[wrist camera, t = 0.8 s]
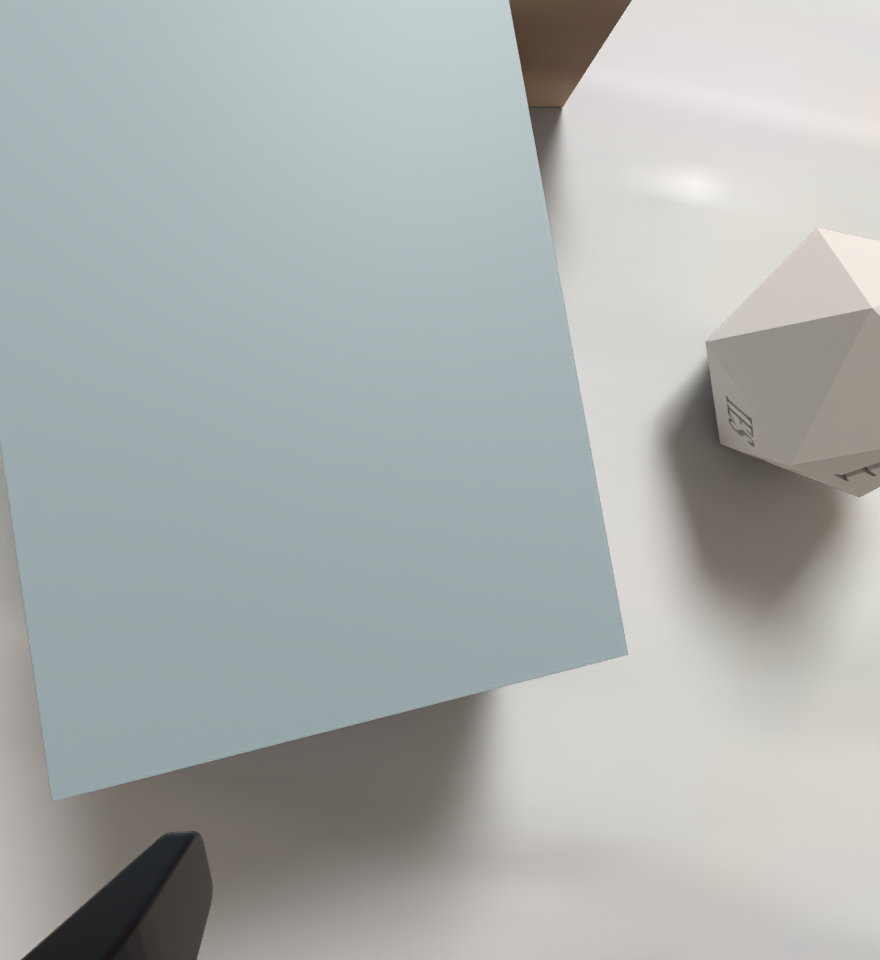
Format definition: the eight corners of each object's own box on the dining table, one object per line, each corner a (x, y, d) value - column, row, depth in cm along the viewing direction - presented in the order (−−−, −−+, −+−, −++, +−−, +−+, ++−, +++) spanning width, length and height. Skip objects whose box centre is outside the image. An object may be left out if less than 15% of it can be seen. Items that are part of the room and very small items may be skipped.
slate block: (499, 607, 23) (628, 654, 14) (155, 683, 20) (52, 801, 11) (427, 193, 24) (508, -5, 15) (83, 207, 21) (-68, -29, 12)
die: (613, 387, 25) (823, 524, 18) (746, 170, 22) (1067, 222, 15) (727, 439, 30) (932, 566, 22) (849, 265, 27) (1134, 343, 19)
